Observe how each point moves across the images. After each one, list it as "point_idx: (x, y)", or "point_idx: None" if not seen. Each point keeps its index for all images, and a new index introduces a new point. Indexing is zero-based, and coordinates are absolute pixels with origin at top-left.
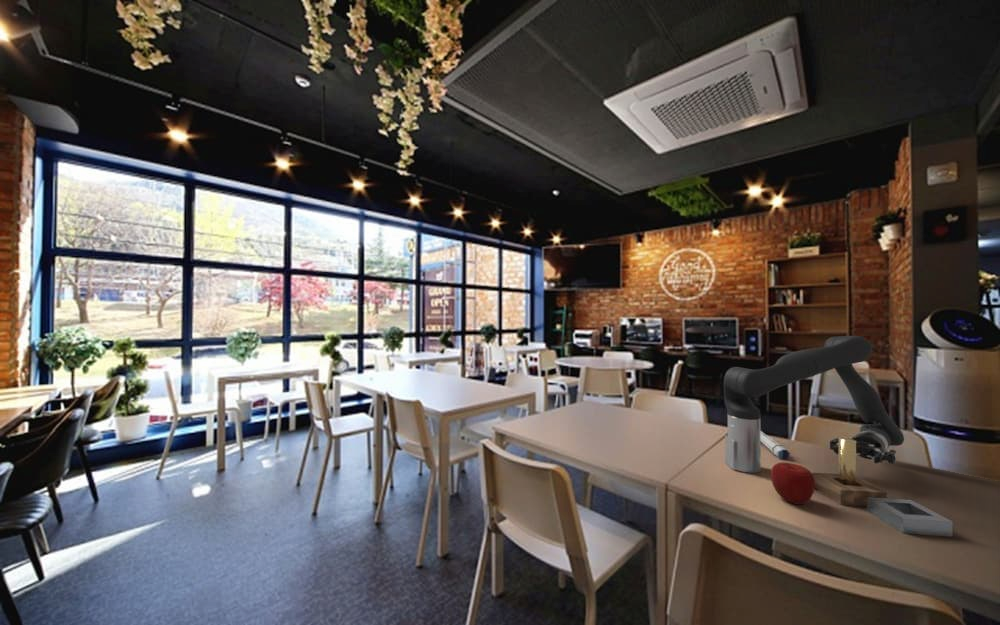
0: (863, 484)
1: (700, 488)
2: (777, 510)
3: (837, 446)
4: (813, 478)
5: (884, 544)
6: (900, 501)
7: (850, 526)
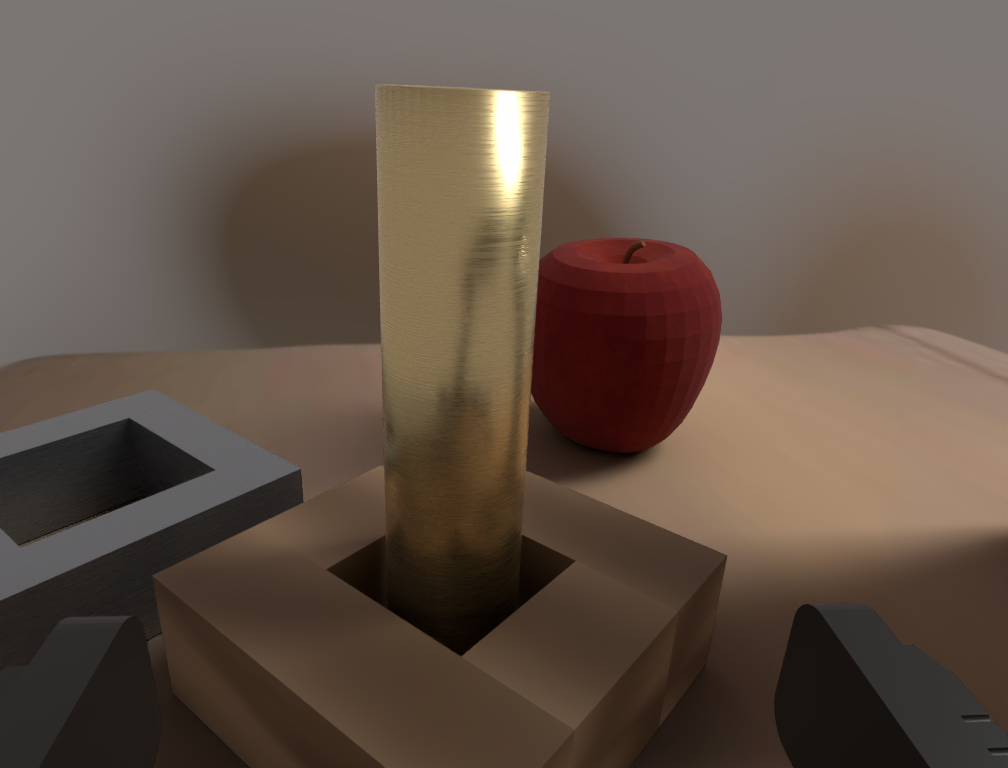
0: (332, 605)
1: (822, 348)
2: None
3: (873, 640)
4: None
5: (252, 380)
6: (85, 535)
7: (359, 404)
